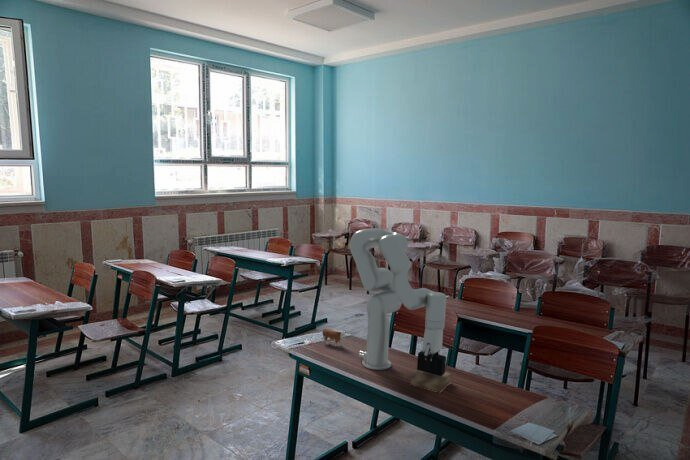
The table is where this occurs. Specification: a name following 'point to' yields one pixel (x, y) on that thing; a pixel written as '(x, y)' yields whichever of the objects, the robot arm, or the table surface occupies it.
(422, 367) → the digital camera
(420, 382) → the plinth
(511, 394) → the table surface
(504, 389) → the table surface
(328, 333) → the bull figurine
